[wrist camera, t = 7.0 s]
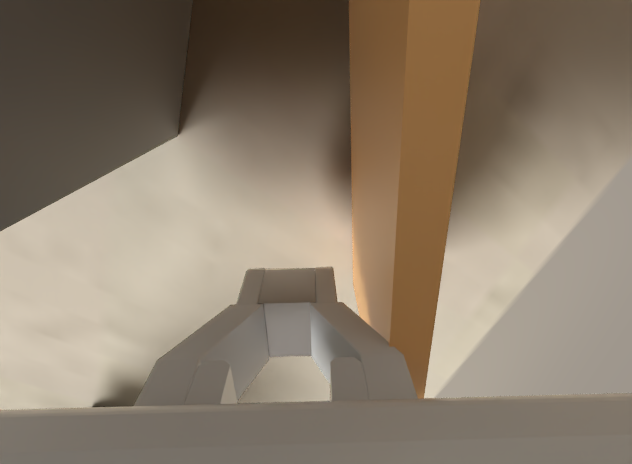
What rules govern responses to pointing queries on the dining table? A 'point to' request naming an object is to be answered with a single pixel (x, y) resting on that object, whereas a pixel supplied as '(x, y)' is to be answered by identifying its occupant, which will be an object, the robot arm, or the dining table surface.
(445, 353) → the dining table surface
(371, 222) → the side door
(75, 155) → the block
